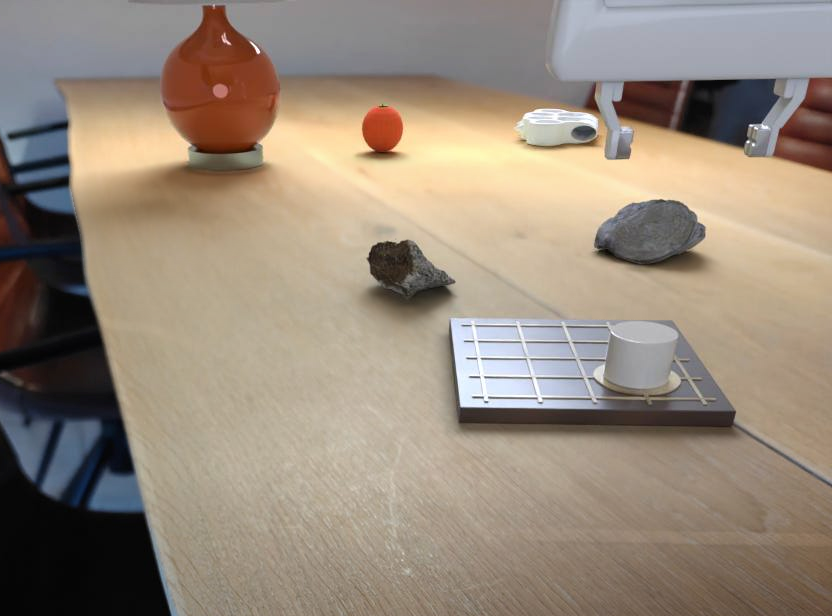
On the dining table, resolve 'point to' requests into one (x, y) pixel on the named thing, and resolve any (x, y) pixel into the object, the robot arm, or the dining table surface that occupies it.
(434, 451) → the dining table surface
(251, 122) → the lamp
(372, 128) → the clementine
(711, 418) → the game board
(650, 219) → the fossilized seashell
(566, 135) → the white flat lobed block
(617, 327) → the gray cylinder
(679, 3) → the robot arm
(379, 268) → the rock sample
